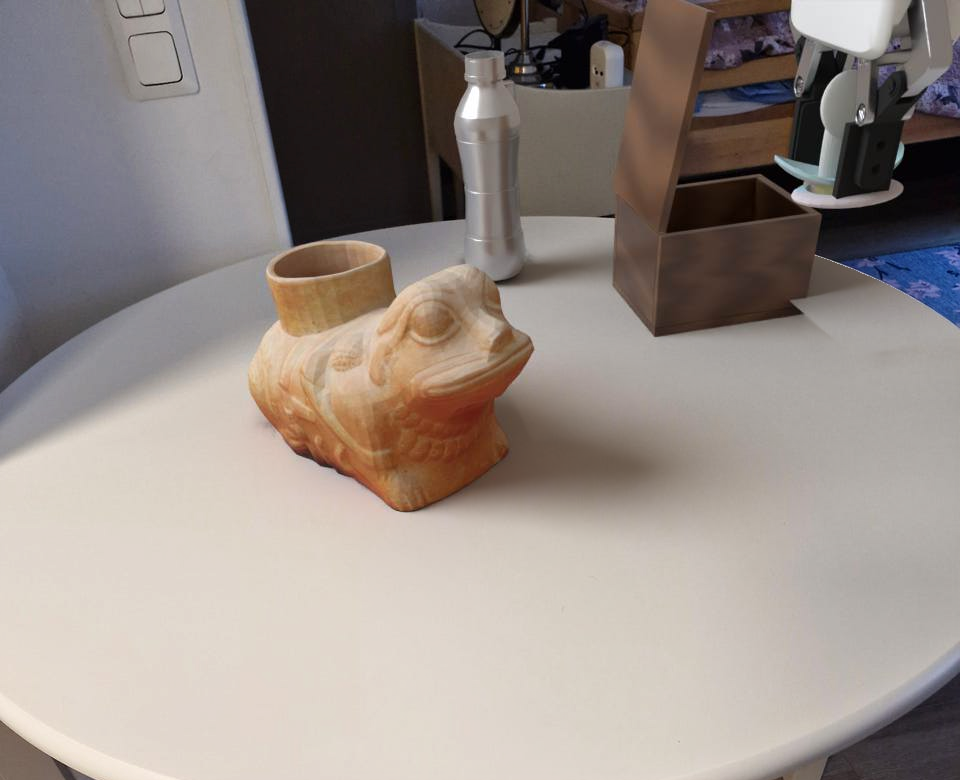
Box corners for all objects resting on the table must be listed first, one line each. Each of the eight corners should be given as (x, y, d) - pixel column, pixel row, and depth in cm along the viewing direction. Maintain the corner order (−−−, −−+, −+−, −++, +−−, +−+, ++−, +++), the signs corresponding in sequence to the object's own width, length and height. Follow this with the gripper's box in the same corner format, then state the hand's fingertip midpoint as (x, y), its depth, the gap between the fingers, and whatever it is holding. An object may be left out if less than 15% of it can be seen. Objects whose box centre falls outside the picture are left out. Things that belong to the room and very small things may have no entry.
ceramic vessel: (447, 550, 60) (423, 337, 50) (227, 429, 74) (173, 243, 64) (578, 463, 67) (580, 259, 57) (354, 367, 81) (323, 190, 71)
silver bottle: (537, 269, 95) (533, 48, 82) (506, 292, 91) (496, 64, 78) (485, 260, 98) (473, 45, 84) (453, 283, 94) (434, 61, 80)
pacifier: (922, 207, 51) (875, 174, 55) (955, 81, 46) (901, 55, 51) (797, 223, 50) (759, 188, 55) (819, 98, 46) (775, 71, 50)
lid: (658, -11, 75) (649, -12, 74) (717, 12, 65) (707, 11, 65) (619, 188, 85) (611, 188, 85) (666, 232, 76) (657, 231, 75)
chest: (747, 265, 92) (760, 173, 86) (803, 313, 83) (822, 214, 77) (612, 285, 91) (615, 193, 85) (654, 336, 82) (661, 237, 76)
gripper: (1127, -269, 35) (980, 221, 47) (890, -245, 47) (823, 139, 59) (949, -252, 34) (847, 242, 46) (755, -232, 46) (716, 154, 59)
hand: (834, 180), depth 53 cm, fingers closed on pacifier, 4 cm apart
